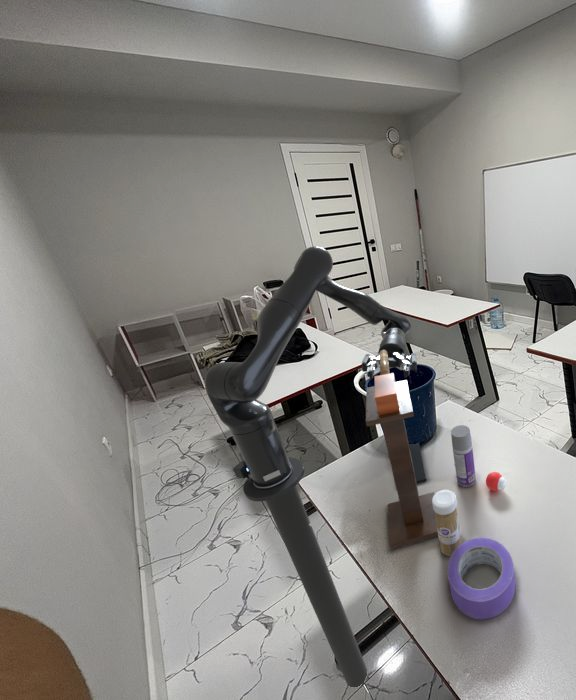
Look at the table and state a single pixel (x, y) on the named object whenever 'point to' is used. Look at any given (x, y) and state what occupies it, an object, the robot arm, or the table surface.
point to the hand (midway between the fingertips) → (387, 374)
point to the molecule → (495, 481)
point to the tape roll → (487, 599)
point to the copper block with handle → (385, 388)
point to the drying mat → (417, 462)
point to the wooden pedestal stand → (403, 475)
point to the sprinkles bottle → (447, 521)
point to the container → (463, 455)
